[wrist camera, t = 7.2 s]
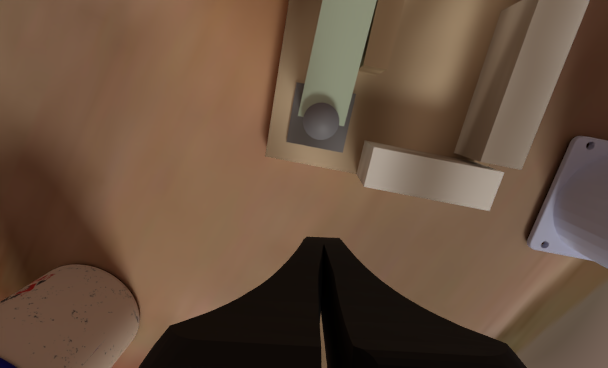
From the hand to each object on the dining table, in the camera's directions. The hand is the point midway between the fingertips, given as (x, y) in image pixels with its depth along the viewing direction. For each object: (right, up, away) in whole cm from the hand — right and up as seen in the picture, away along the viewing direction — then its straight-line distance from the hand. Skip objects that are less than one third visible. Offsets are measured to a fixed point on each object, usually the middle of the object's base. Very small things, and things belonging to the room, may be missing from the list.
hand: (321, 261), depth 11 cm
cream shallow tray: (+5, +10, +7) cm, 13 cm away
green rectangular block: (+1, +11, +6) cm, 12 cm away
